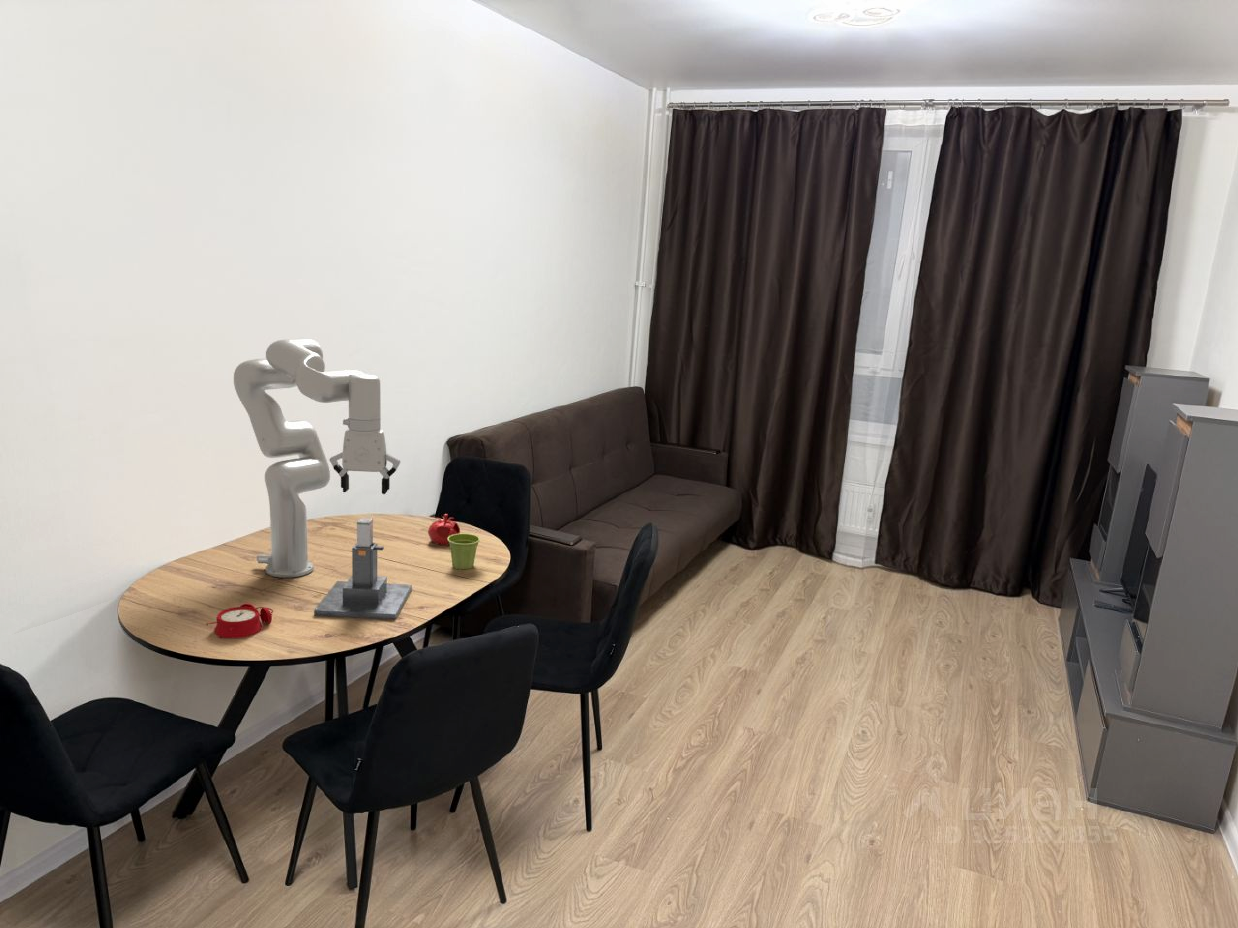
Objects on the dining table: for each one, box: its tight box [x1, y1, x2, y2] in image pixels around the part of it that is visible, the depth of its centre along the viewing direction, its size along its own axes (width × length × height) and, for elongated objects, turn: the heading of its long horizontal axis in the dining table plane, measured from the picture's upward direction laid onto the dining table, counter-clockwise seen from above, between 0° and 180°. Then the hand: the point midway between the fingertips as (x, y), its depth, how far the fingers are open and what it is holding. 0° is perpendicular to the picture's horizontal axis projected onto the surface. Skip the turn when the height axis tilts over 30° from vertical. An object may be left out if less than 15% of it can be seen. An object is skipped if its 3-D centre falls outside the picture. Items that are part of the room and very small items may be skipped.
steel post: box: [356, 517, 374, 548], centre depth 220 cm, size 3×3×17 cm
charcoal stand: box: [313, 542, 413, 620], centre depth 221 cm, size 20×20×16 cm
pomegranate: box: [427, 513, 461, 546], centre depth 272 cm, size 10×10×9 cm
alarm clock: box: [205, 602, 274, 639], centre depth 204 cm, size 10×6×15 cm
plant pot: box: [448, 533, 481, 570], centre depth 252 cm, size 9×9×9 cm
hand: (365, 491), depth 216 cm, fingers open, 9 cm apart
